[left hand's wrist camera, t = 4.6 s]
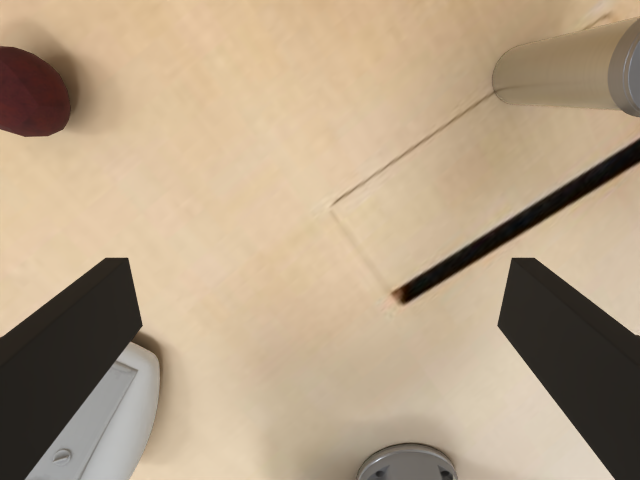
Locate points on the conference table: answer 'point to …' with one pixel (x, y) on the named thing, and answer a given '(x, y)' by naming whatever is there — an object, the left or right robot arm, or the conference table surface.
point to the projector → (108, 424)
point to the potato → (31, 95)
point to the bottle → (561, 69)
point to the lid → (626, 71)
